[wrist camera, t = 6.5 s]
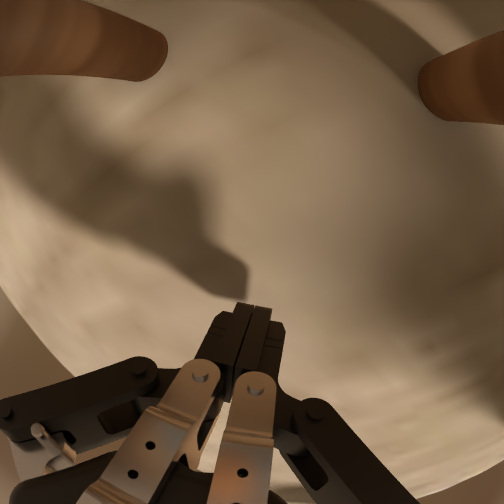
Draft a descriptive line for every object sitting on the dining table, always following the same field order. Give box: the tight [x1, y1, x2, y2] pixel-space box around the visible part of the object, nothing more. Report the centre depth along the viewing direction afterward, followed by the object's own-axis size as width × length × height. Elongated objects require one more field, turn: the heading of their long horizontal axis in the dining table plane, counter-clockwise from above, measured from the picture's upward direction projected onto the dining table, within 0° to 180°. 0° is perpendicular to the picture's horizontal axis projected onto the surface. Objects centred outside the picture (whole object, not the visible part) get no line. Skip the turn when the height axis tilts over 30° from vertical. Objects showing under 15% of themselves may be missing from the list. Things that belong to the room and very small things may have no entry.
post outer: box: [0, 0, 168, 82], centre depth 5 cm, size 3×3×9 cm
